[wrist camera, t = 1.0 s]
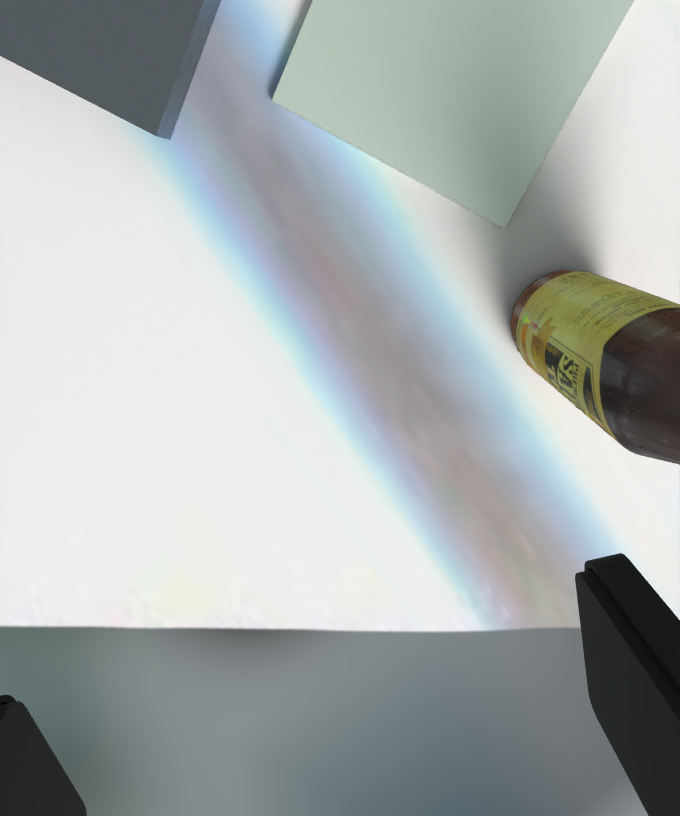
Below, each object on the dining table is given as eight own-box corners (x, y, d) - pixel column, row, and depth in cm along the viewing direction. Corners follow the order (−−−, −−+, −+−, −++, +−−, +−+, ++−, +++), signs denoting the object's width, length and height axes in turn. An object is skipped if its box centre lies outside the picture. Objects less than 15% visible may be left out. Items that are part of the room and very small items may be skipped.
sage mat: (403, -218, 26) (404, -225, 25) (654, -42, 29) (659, -45, 28) (272, 101, 30) (271, 100, 30) (501, 227, 33) (504, 228, 33)
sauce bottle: (484, 325, 35) (678, 490, 17) (563, 243, 33) (875, 323, 15) (556, 392, 37) (804, 609, 18) (634, 317, 35) (991, 471, 17)
